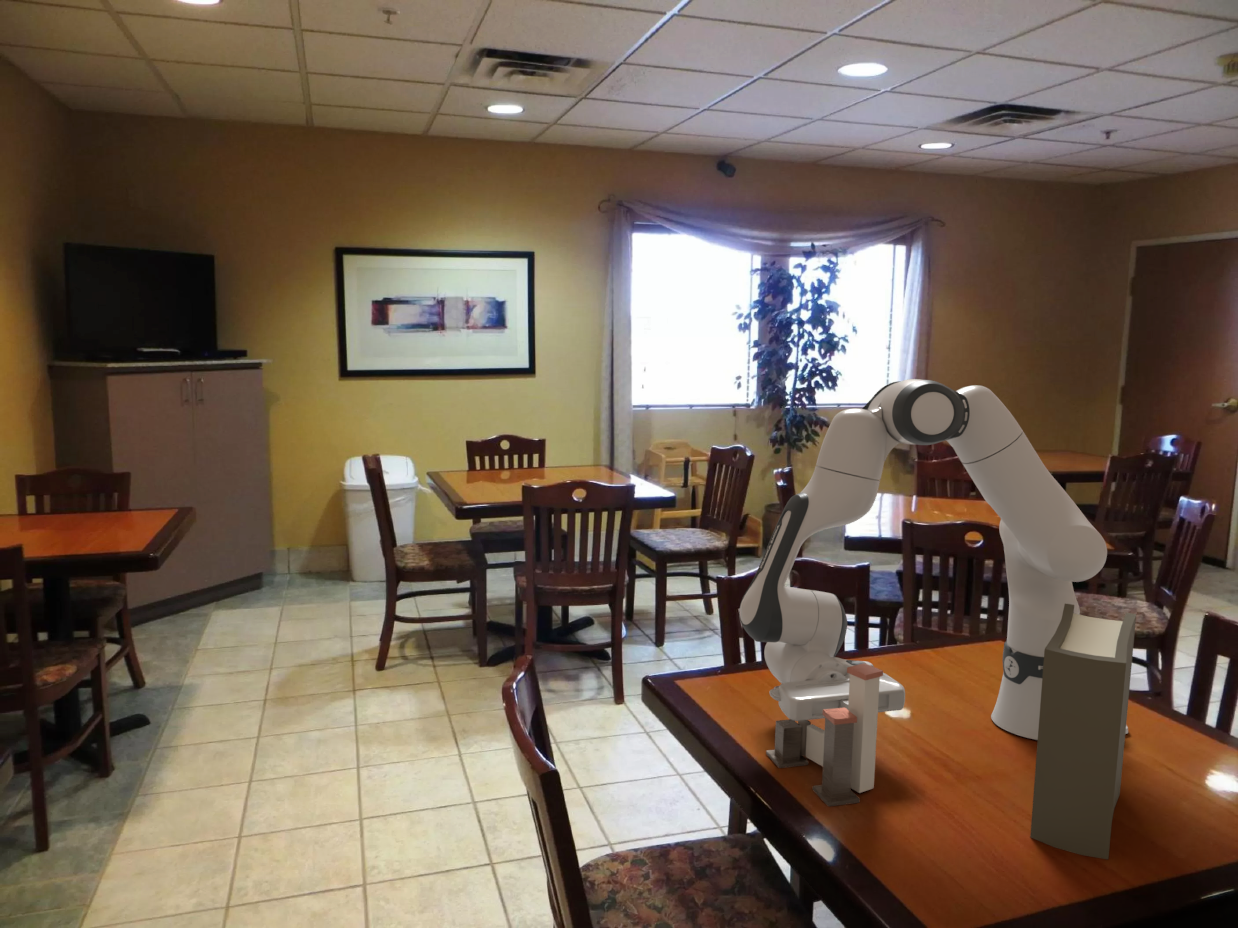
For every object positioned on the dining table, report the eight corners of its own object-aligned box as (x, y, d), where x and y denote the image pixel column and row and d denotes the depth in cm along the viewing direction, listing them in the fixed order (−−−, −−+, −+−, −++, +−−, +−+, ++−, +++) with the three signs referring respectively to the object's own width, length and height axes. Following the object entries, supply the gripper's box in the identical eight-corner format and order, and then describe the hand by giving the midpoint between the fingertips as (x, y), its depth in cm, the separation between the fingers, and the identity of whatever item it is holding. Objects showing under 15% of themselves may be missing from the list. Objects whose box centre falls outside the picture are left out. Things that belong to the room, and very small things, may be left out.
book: (1107, 866, 115) (1126, 660, 110) (1029, 843, 120) (1044, 646, 115) (1119, 793, 132) (1136, 614, 128) (1051, 776, 137) (1064, 603, 133)
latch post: (842, 785, 133) (846, 705, 132) (859, 802, 129) (864, 718, 127) (812, 789, 132) (816, 707, 131) (828, 806, 127) (832, 721, 126)
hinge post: (794, 750, 145) (795, 715, 144) (808, 764, 140) (809, 728, 139) (766, 753, 144) (767, 718, 143) (779, 767, 139) (780, 731, 138)
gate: (876, 788, 132) (883, 670, 130) (859, 794, 130) (865, 675, 128) (806, 749, 144) (811, 641, 142) (790, 754, 143) (794, 645, 140)
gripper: (765, 670, 143) (805, 704, 130) (877, 660, 149) (926, 691, 135) (764, 707, 144) (803, 744, 131) (875, 696, 150) (923, 730, 136)
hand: (866, 717), depth 133 cm, fingers closed, pressing on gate
